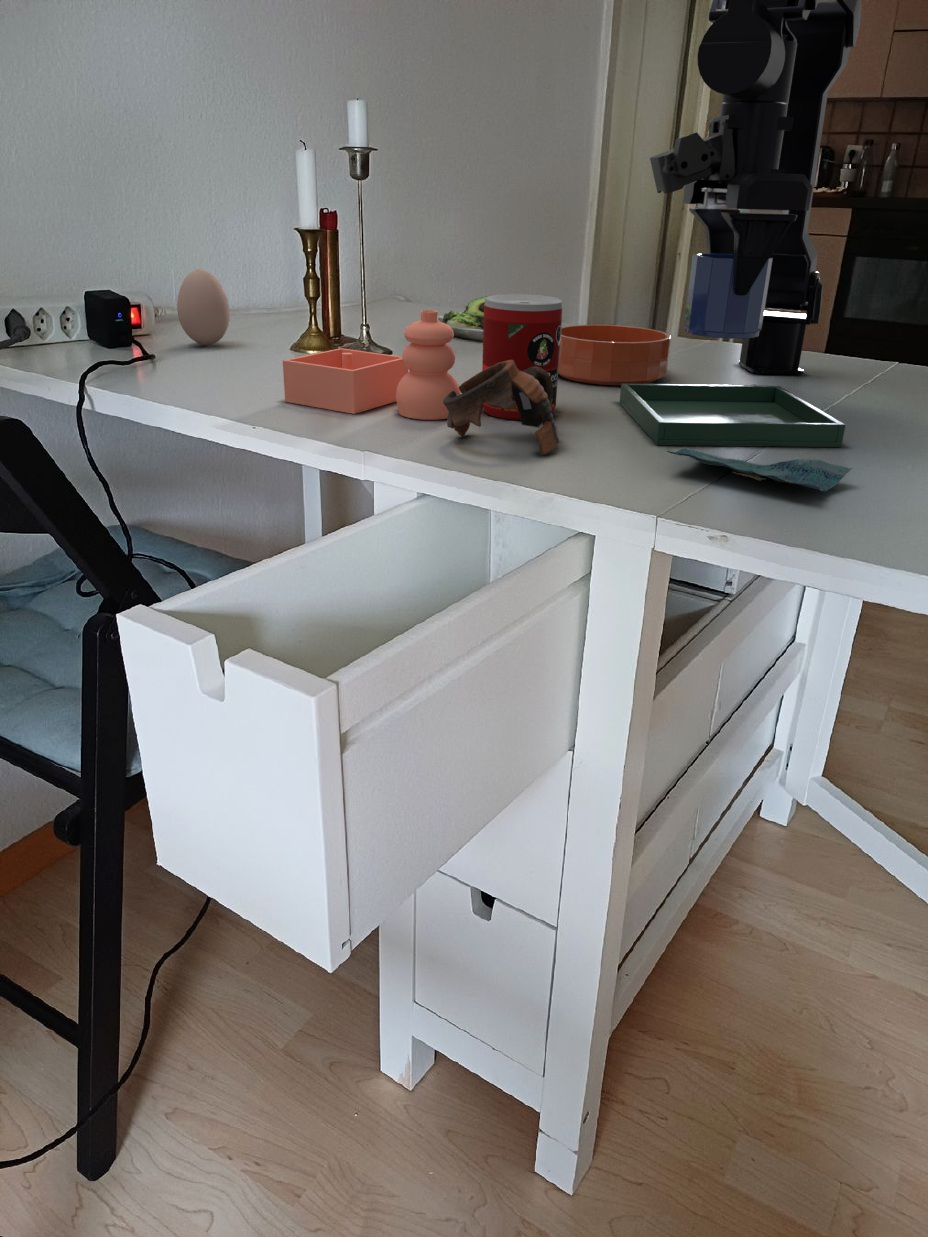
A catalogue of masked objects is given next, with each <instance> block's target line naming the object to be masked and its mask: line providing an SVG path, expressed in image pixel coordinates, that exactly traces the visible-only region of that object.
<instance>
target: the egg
mask: <svg viewBox="0 0 928 1237" xmlns="http://www.w3.org/2000/svg"><path fill="white" fill-rule="evenodd" d="M176 300H177V301H176V303H177V304H176V308H177V309H176V310H177V318H178V321H179V324H180V326H181V328H182V330H183V331H184V333H185V334H186V336H188V337H189V338H190V339H191V340H192V341H194V342H195V343H196V344H198V345H201V346H212V345H215V344H216V343H218V342H220V340H221V339H223V337H224V336H225V334H226V333H227V331H228V328H229V325H230V322H231V309H230V303H229V298H228V296H227V293H226V291H225V290H224V288H223V286H222V284H221V282H220V281H219V279H218V278H217V277H216V276H215V275H214V274H213V273H211V272H209V271H207V270H205V269H200V268H198V269H194V270H192V271H191V272H189V273H188V274H187V275H186V276H185V277H184V279H183V281H182V283H181V285H180V287H179V291H178V295H177V299H176Z"/></svg>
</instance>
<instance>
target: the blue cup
mask: <svg viewBox="0 0 928 1237" xmlns="http://www.w3.org/2000/svg"><path fill="white" fill-rule="evenodd" d="M772 259H773V258H771V257H769V259H768V260H767V262H766V264H765V265H764V267H763V269H762V270H761V272H760V274H759V275H758V277H757V279H756V280H755V282H754V284H753V285H752V287H751V289H750V290H749V292H748V294H747V295H736V294H735V293H734V254H725V253H708V252H703V253H693V254H692V258H691V265H690V266H691V267H690V273H689V282H688V289H687V297H686V306H685V314H684V322H683V326H684V332H685V333H686V334H688V335H689V334H690V335H694V336H698V337H704V338H714V339H730V340H738V339H739V340H743V339H745V338H755V337H758V336H759V335H760V330H761V329H762V323H763V316H764V311H766V309H765V304H766V297H767V291H768V284H769V278H770V272H771V265H772Z"/></svg>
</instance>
